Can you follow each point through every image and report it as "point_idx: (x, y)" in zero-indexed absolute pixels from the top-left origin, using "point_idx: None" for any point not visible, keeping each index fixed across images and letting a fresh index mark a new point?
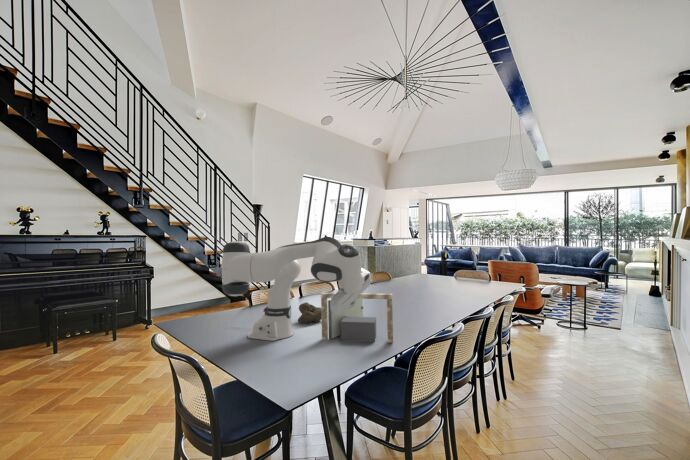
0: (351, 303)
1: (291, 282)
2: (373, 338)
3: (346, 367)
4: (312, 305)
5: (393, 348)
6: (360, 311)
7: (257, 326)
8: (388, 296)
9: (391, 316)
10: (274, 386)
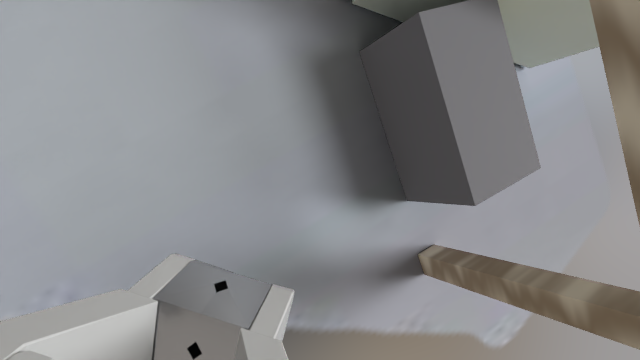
0: (184, 354)
1: None
2: (414, 195)
3: (64, 246)
4: None
5: (377, 307)
6: (587, 41)
7: None
8: None
9: (531, 306)
10: None
